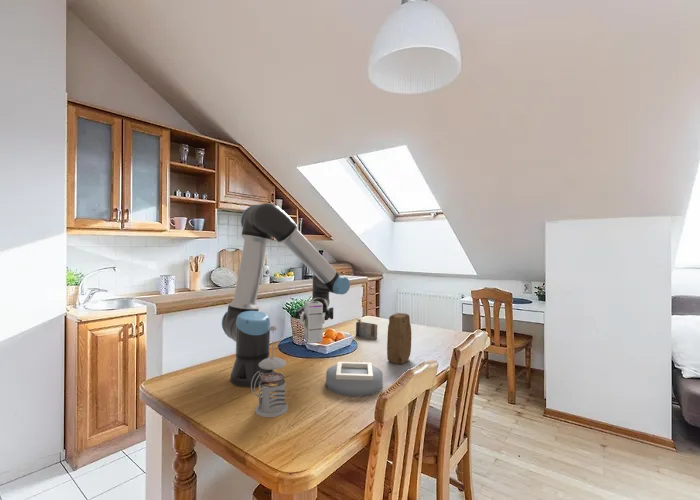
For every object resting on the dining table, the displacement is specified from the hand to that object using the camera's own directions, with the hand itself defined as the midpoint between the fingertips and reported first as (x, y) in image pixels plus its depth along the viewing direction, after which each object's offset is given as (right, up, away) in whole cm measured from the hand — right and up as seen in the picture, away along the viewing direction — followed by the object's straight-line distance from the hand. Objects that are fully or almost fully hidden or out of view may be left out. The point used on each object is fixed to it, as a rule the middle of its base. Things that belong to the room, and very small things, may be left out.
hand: (312, 319), depth 124 cm
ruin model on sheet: (+22, -21, +58) cm, 66 cm away
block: (+35, -22, +23) cm, 47 cm away
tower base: (+15, -22, -1) cm, 27 cm away
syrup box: (0, -9, +5) cm, 10 cm away
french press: (-10, -23, -21) cm, 33 cm away
